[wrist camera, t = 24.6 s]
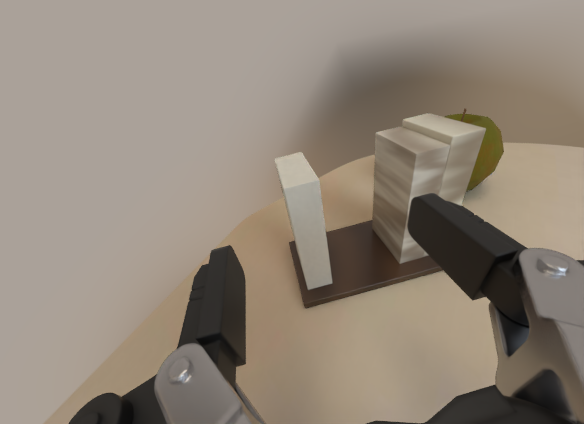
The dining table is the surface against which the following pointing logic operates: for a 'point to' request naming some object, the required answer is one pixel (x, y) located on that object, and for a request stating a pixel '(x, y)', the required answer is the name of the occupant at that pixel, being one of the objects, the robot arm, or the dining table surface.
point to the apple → (483, 147)
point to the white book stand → (397, 206)
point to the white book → (305, 217)
